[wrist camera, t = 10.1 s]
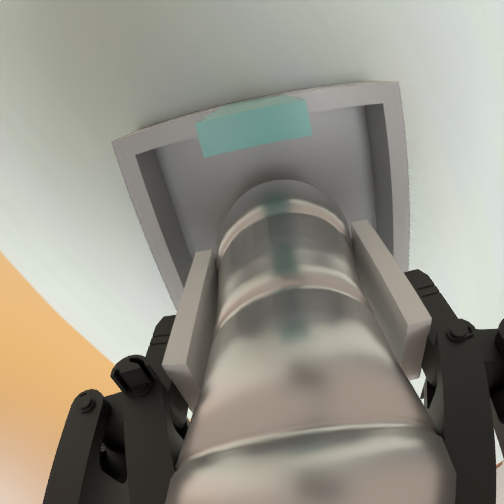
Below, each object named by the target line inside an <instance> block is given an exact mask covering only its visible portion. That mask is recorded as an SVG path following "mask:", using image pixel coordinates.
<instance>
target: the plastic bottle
mask: <svg viewBox="0 0 504 504" xmlns="http://www.w3.org/2000/svg"><path fill="white" fill-rule="evenodd" d="M215 261H216V270H217V278H218V297H217V322H216V326H215V331H214V335H213V342H212V346H211V348H210V353H209V357H208V362H207V367H206V371H205V376H204V380H203V385H202V388H201V391H200V394H199V397H198V400H197V403H196V406H195V409H194V412H193V415H192V418H191V421H190V424H189V427H188V430H187V433H186V436H185V439H184V442H183V445H182V448H181V451H180V454H179V457H178V460H177V463H176V466H175V469H176V470H177V471H176V472H175V473H174V475H173V476H172V478H171V480H170V484H169V489H168V493H167V498H166V502H165V504H455V495H456V475H457V473H456V471H455V469H454V466H453V464H452V461H451V459H450V457H449V454H448V451H447V449H446V446H445V444H444V441H443V439H442V437H440V436H438V434H439V433H438V431H437V429H436V427H435V425H434V423H433V421H432V420H431V418H430V416H429V414H428V412H427V411H426V409H425V407H424V405H423V404H422V402H421V400H420V398H419V397H418V395H417V393H416V392H415V390H414V388H413V386H412V385H411V383H410V381H409V380H408V378H407V376H406V375H405V373H404V371H403V370H402V368H401V366H400V365H399V363H398V361H397V360H396V358H395V356H394V354H393V352H392V349H391V347H390V345H389V343H388V341H387V339H386V337H385V335H384V333H383V330H382V328H381V326H380V324H379V323H378V321H377V319H376V317H375V315H374V312H373V310H372V308H371V306H370V304H369V302H368V300H367V298H366V296H365V293H364V290H363V287H362V283H361V280H360V277H359V273H358V270H357V267H356V264H355V260H354V252H353V242H352V238H351V234H350V231H349V227H348V224H347V221H346V218H345V216H344V214H343V213H342V211H341V209H340V208H339V206H338V205H337V204H336V203H335V202H334V201H333V200H332V199H331V198H330V197H328V196H327V195H326V194H324V193H323V192H322V191H320V190H318V189H317V188H315V187H314V186H312V185H310V184H307V183H304V182H302V181H296V180H290V179H285V180H273V181H269V182H265V183H262V184H260V185H258V186H256V187H253V188H252V189H250V190H249V191H247V192H246V193H245V194H243V195H242V196H241V197H240V198H239V199H238V200H237V201H236V202H235V203H234V204H233V206H232V207H231V209H230V210H229V211H228V213H227V214H226V216H225V218H224V219H223V221H222V223H221V225H220V227H219V230H218V233H217V237H216V244H215Z"/></svg>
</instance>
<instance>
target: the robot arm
mask: <svg viewBox="0 0 504 504" xmlns="http://www.w3.org/2000/svg"><path fill="white" fill-rule="evenodd" d="M351 233H352V242H353V252H354V260H355V264H356V267H357V270H358V273H359V277H360V280H361V283H362V287H363V290H364V293H365V296H366V298H367V300H368V302H369V304H370V306H371V308H372V310H373V312H374V315H375V317H376V319H377V321H378V323H379V324H380V326H381V328H382V330H383V333H384V335H385V337H386V339H387V341H388V343H389V345H390V347H391V349H392V352H393V354H394V356H395V358H396V360H397V361H398V363H399V365H400V366H401V368H402V370H403V371H404V373H405V375H406V376H407V378H408V380H409V381H410V380H413V379H416V378H419V376H420V373H421V368H422V369H423V371H424V373H425V376H426V379H425V383H424V386H423V390H422V393H421V397H420V399H423V398H424V407H425V409H426V411H427V412H428V414H429V416H430V418H431V420H432V421H433V423H434V425H435V427H436V429H437V431H438V433H439V434H438V436H440V437H442V439H443V441H444V444H445V446H446V449H447V451H448V454H449V457H450V459H451V461H452V464H453V466H454V469H455V471H456V473H457V475H456V495H455V504H496V455H495V439H494V430H495V432H496V435H497V438H498V441H499V445H500V448H501V451H502V454H503V457H504V319H503V320H502V321H501V323H500V324H499V327H498V329H483V330H481V329H475V327H474V326H473V325H472V324H471V323H470V322H468V321H466V320H463V319H458V318H457V316H456V315H455V313H454V312H453V310H452V309H451V307H450V306H449V304H448V303H447V301H446V300H445V299H444V297H443V296H442V294H441V293H440V292H439V290H438V288H437V287H436V286H435V285H434V283H433V281H432V280H431V279H430V277H429V276H428V275H427V274H425V273H423V272H422V271H420V270H419V269H416V270H412V271H408V272H403V271H402V269H401V268H400V266H399V265H398V263H397V262H396V260H395V259H394V257H393V256H392V254H391V253H390V252H389V250H388V249H387V247H386V246H385V244H384V243H383V241H382V240H381V239H380V237H379V236H378V234H377V233H376V231H375V230H374V229H373V227H372V226H371V224H370V223H369V222H368V220H367V219H366V220H361V221H355V222H351ZM217 297H218V278H217V270H216V261H215V257H214V254H213V251H212V249H210V250H205V251H200V252H196V253H195V256H194V259H193V263H192V266H191V269H190V272H189V275H188V278H187V281H186V284H185V288H184V291H183V294H182V297H181V301H180V304H179V307H178V310H177V314H176V315H172V316H164V317H163V318H162V319H161V321H160V322H159V323H158V324H157V325H156V327H155V330H154V333H153V338H152V339H151V342H150V346H149V348H148V351H147V354H146V357H144V356H141V355H131V356H128V357H126V358H124V359H122V360H121V361H119V362H118V363H117V364H116V365H115V367H114V368H113V369H112V372H111V378H112V379H113V380H114V382H115V383H116V384H117V386H118V387H119V388H120V389H121V391H122V392H119V393H116V394H113V395H110V396H106V397H104V396H103V395H102V394H101V393H100V392H99V391H98V390H94V389H90V390H86V391H84V392H82V393H80V394H79V395H78V396H77V397H76V398H75V399H74V401H73V403H72V405H71V408H70V411H69V414H68V417H67V420H66V423H65V426H64V429H63V432H62V435H61V438H60V441H59V445H58V448H57V451H56V455H55V459H54V462H53V465H52V469H51V472H50V477H49V480H48V484H47V488H46V492H45V496H44V500H43V504H165V502H166V498H167V493H168V489H169V484H170V480H171V478H172V476H173V475H174V473H175V472H176V471H177V470H176V469H175V466H176V463H177V460H178V457H179V454H180V451H181V448H182V445H183V442H184V439H185V436H186V433H187V430H188V427H189V424H190V422H189V420H188V418H187V411H188V407H189V409H190V410H191V411H192V413H193V412H194V409H195V406H196V403H197V400H198V397H199V394H200V391H201V388H202V385H203V380H204V376H205V371H206V367H207V362H208V357H209V353H210V348H211V346H212V342H213V335H214V331H215V326H216V322H217ZM102 444H103V445H102Z"/></svg>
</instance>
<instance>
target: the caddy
mask: <svg viewBox="0 0 504 504" xmlns="http://www.w3.org/2000/svg"><path fill="white" fill-rule="evenodd" d="M112 145H113V148H114V151H115V154H116V157H117V160H118V163H119V166H120V169H121V172H122V175H123V178H124V181H125V183H126V186H127V189H128V192H129V195H130V198H131V200H132V203H133V206H134V208H135V211H136V214H137V216H138V219H139V222H140V224H141V227H142V229H143V232H144V235H145V237H146V240H147V242H148V245H149V247H150V250H151V252H152V255H153V257H154V259H155V262H156V264H157V267H158V269H159V271H160V274H161V276H162V278H163V281H164V283H165V285H166V288H167V290H168V292H169V294H170V297H171V299H172V301H173V303H174V306H175V308H176V310H178V307H179V304H180V301H181V297H182V294H183V291H184V288H185V284H186V281H187V278H188V275H189V272H190V269H191V266H192V263H193V259H194V256H195V253H196V252H200V251H205V250H210V249H212V251H213V254H214V257H215V244H216V237H217V233H218V230H219V227H220V225H221V223H222V221H223V219H224V218H225V216H226V214H227V213H228V211H229V210H230V209H231V207H232V206H233V204H234V203H235V202H236V201H237V200H238V199H239V198H240V197H241V196H242V195H243V194H245V193H246V192H247V191H249V190H250V189H252V188H253V187H256V186H258V185H260V184H262V183H265V182H269V181H273V180H285V179H290V180H296V181H302V182H304V183H307V184H310V185H312V186H314V187H315V188H317V189H318V190H320V191H322V192H323V193H324V194H326V195H327V196H328V197H330V198H331V199H332V200H333V201H334V202H335V203H336V204H337V205H338V206H339V208H340V209H341V211H342V213H343V214H344V216H345V218H346V221H347V224H348V227H349V231H350V234H351V238H352V233H351V222H355V221H361V220H366V219H367V220H368V222H369V223H370V224H371V226H372V227H373V229H374V230H375V231H376V233H377V234H378V236H379V237H380V239H381V240H382V241H383V243H384V244H385V246H386V247H387V249H388V250H389V252H390V253H391V254H392V256H393V257H394V259H395V260H396V262H397V263H398V265H399V266H400V268H401V269H402V271H403V272H408V266H409V233H410V210H409V178H408V160H407V147H406V136H405V126H404V117H403V109H402V102H401V95H400V88H399V82H388V81H367V82H356V83H346V84H337V85H329V86H322V87H314V88H308V89H301V90H295V91H289V92H283V93H278V94H272V95H267V96H262V97H257V98H252V99H248V100H243V101H239V102H234V103H230V104H226V105H222V106H218V107H214V108H210V109H206V110H202V111H199V112H195V113H191V114H188V115H184V116H181V117H178V118H174V119H171V120H168V121H165V122H161V123H158V124H155V125H152V126H149V127H146V128H143V129H140V130H138V131H135V132H133V133H131V134H128V135H126V136H124V137H122V138H120V139H117V140H115V141H113V142H112Z"/></svg>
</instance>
